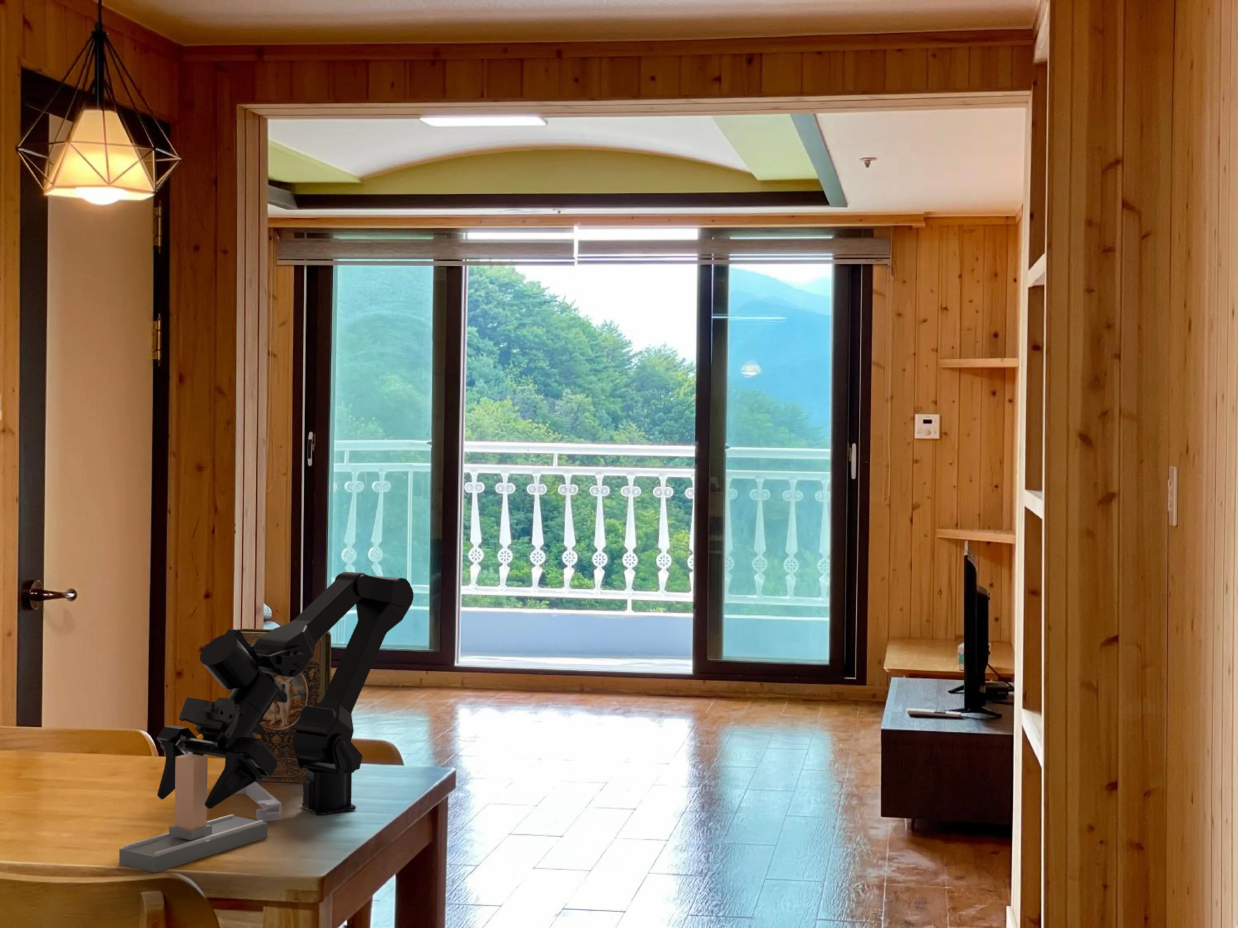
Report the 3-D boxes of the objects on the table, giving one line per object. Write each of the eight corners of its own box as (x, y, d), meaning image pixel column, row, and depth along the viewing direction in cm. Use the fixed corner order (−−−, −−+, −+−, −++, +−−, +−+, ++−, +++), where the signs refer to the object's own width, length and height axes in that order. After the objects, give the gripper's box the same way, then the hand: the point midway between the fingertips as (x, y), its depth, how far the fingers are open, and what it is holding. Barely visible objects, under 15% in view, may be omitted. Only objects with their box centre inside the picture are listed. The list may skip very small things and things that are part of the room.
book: (223, 781, 225) (226, 632, 225) (236, 774, 230) (238, 628, 230) (319, 785, 223) (321, 634, 223) (329, 777, 229) (332, 630, 229)
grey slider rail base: (232, 829, 196) (232, 812, 196) (267, 836, 193) (267, 819, 193) (119, 863, 179) (119, 845, 179) (155, 872, 175) (155, 854, 175)
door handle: (227, 793, 218) (227, 775, 218) (245, 791, 219) (245, 773, 219) (261, 825, 199) (261, 805, 199) (281, 823, 201) (281, 803, 201)
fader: (189, 829, 187) (190, 752, 187) (211, 833, 185) (213, 756, 185) (169, 834, 184) (170, 756, 184) (191, 839, 182) (192, 760, 182)
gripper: (168, 668, 193) (102, 759, 183) (263, 680, 183) (199, 777, 174) (209, 714, 200) (148, 805, 190) (303, 729, 190) (244, 824, 181)
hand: (183, 802), depth 184 cm, fingers open, 9 cm apart
